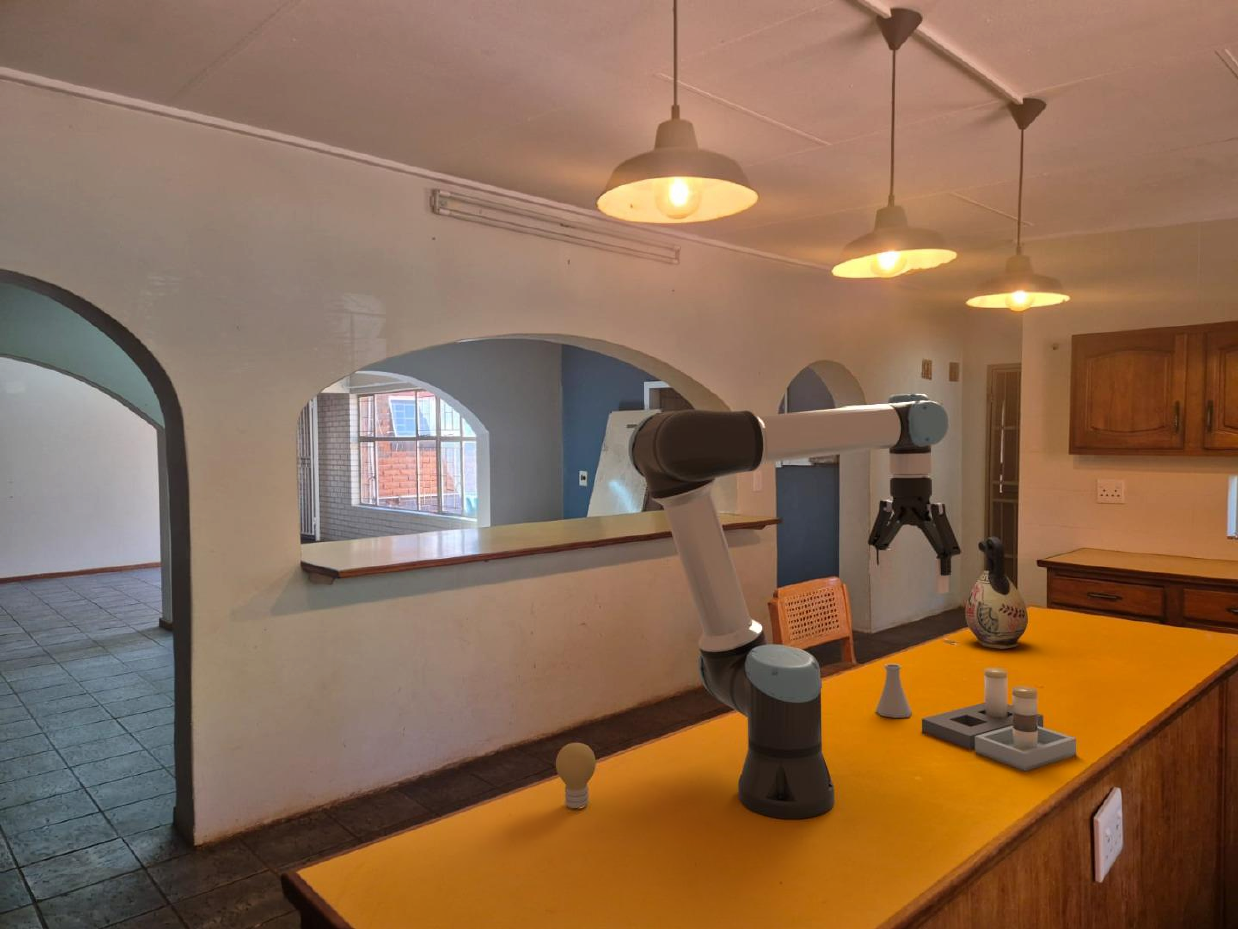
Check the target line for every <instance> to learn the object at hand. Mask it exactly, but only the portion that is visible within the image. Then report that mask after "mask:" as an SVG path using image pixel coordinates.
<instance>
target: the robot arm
mask: <svg viewBox="0 0 1238 929" xmlns="http://www.w3.org/2000/svg"><path fill="white" fill-rule="evenodd" d="M948 430H949V417H948V414H947V411H946V409H945V408H944V407H943V406H942V405H941V404H940V403H939V402H936V401H933V400H930V398H929V396H928V395H926V394H924V393H912V394H894V395H891V396H889V398H888V403H883V404H882V403H881V404H871V405H867V404H866V405H856V404H855V405H845V406H841V407H839V408H831V409H830V408H828V409H819V410H808V411H798V412H797V411H796V412H786V413H785V412H784V413H778V414H777V413H776V414H775V413H774V414H766V415H757V414H756V413H754V412H753V411H751V410H740V411H739V410H737V411H724V410H722V411H721V410H709V409H708V410H707V409H691V408H690V409H683V410H674V411H671V410H669V411H668V410H664V411H662V412H656V413H654V414H652V415H649V416H647V417H645V418H644V419H642V420H641V421H640V422H639V423H637V425H636V426H635V428H634V429H633V431H632V433H631V434H630V437H629V440H628V448H627V449H628V456H629V460H630V463H631V466H633V469H634V470H635V471H636V472H637V473H638V474H639V475H640V476H641V477H642V478H644V481H645V483H646V486H647V490H648V493H649V495H650V498H651V500H652V501H653V502H656V503H657V504H659V505H661V506H662V507H663V510H664V513H665V516H666V519H667V522H668V525H669V528H670V532H671V534H672V535H671V536H672V537H673V541H674V545H675V547H676V551H677V553H678V557H679V559H680V563H681V566H682V569H683V572H684V576H685V578H686V582H687V584H688V588H689V591H690V594H691V597H692V601H693V603H694V608H695V610H696V613H697V617H698V619H699V623H700V627H701V629H702V634H701V636H700V637H699V640H698V642H697V643H698V648H699V651H700V656H699V657H698V661H697V662H698V663H697V665H698V667H697V669H698V674H699V678H700V681H701V682H702V684H703V686H704V688H705V689H706V690H707V691H708V692H709V694H710V695H711V696H713V698H714V699H716V700H718V701H719V702H720V703H722V704H724V705H725V706H728V707H730V708H731V709H733V710H735V711H737V712H738V713H739V714H741V715H742V716H745V718H747V744H748V745H747V752H746V755H745V758H744V762H743V766H742V771H741V774H740V775H739V778H738V780H737V781H738V784H737V793H738V799H739V802H740V803H741V804H742V805H743V806H745V807H746V808H748V810H751V811H753V812H755V813H758V814H760V815H764V816H768V817H772V818H777V819H792V820H793V819H797V820H798V819H808V818H813V817H817V816H820V815H822V814H825V813H827V812H828V811H829V810H831V809H832V808H833V807H834V804H835V787H834V783H833V780H832V778H831V774H830V772H829V768H828V766H827V763H826V760H825V757H824V754H823V747H822V746H823V743H822V742H823V741H822V738H823V737H822V734H823V732H822V730H823V729H822V688H823V683H822V678H821V676H822V675H821V670H820V669H821V668H820V665H819V662H818V660H817V659H816V657H814V656H813V655H812V654H811V653H810V652H808V651H806V650H803V649H801V648H798V647H796V646H795V647H794V646H791V647H790V646H788V645H784V644H776V643H775V644H768V641H767V638H766V634H765V632H764V628H763V626H762V624H761V623H760V622H758V621H756V620H755V619H753V618H751V616H750V612H749V609H748V606H747V604H746V603H747V602H746V600H745V596H744V593H743V590H742V586H741V583H740V580H739V577H738V575H737V574H738V573H737V570H736V567H735V564H734V561H733V558H732V554H731V551H730V548H729V545H728V541H727V539H726V538H727V537H726V535H725V531H724V529H723V525H722V522H721V519H720V516H719V512H718V509H717V506H716V503H715V500H714V495H713V494H712V489H713V487H714V485H715V483H716V481H717V478H720V477H725V476H730V475H736V474H740V473H746V472H747V473H749V472H755V471H757V470H758V469H759V468H760V467H761V466H762V464H768V463H776V462H777V463H778V462H784V461H794V460H802V459H811V458H818V457H827V456H836V455H837V456H838V455H844V454H845V455H846V454H850V453H851V454H852V453H853V454H854V453H861V452H870V451H877V450H887V449H889V452H888V453H889V474H890V475H892V477H890V479H889V494H890V497H892V499H880V501H879V507H878V511H877V512H878V513H877V516H876V517H875V520H874V523H873V526H872V529H871V532H870V535H869V537H868V539H867V544H868V546H872V547H874V549H875V550H876V564H877V566H878V583H879V584H889V583H892V582H893V569H892V568H893V563H892V549H890V548H891V546H890V545H891V544H892V541H894V539H895V537H896V536H897V535H898V534H899V532H900V530H901V529H902V527H903V526H908V525H909V526H913V527H917V528H918V529H919V530H921V531H922V533H923V535H924V537H925V538H926V540H927V541H928V543H929V544H930V545H931V547H932V549H933V551H934V552H935V554H936V555H937V556H935V557H934V559H933V560H934V594H935V595H942V594H946V593H947V594H948V593H950V590H949V588H950V587H949V585H950V584H949V576H951V575H952V558H953V557H955V556H959V555H961V553H962V550H961V548H960V546H959V545H960V544H959V542H958V540H957V538H956V536H955V533H954V530H953V527H952V526H951V524H950V521H949V518H948V516H947V509H946V504H945V503H944V502H935V503H931V501H930V498H931V496H933V479H932V478H931V476H929V475H931V474H932V446H934V445H937V444H939V443H940V442H941V441H943V439H944V438H945V436H946V435H947V433H948ZM892 514H893V515H892Z"/></svg>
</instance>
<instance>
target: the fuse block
mask: <svg viewBox="0 0 1238 929" xmlns="http://www.w3.org/2000/svg"><path fill="white" fill-rule="evenodd" d="M1007 715H1008V717H1005V718H1002V719H997V718H994V717H991V716H988V715H985V702H983V703H981V702H980V703H977V704H973V705H971V706H967V707H962V708H958V709H954V710H950V711H947V712H943V713H939V714H935V715H931V716H927V717H922V718H921V732H923V733H926V734H928V735H931V736H933V737H936V738H939V739H941V740H945V741H946V742H950V743H952V744H954V745H958V746H960V747H963V748H965V749H967V750H972V749H975V736H977V735H981V734H984V733H988V732H992V731H995V730H999V729H1002V728H1006V727H1009V726H1013V708H1012V704H1008V703H1007ZM1037 721H1038V726H1039V727H1043V728H1044V714H1040V713H1038V712H1037Z"/></svg>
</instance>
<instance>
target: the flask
mask: <svg viewBox="0 0 1238 929" xmlns="http://www.w3.org/2000/svg"><path fill="white" fill-rule="evenodd" d="M901 667H902V666H901V665H900V664H897V663H885V665H884V669H885V671H886V674H885V682H884V686H883V689H882V692H881V695H880V698H879V701H878V703H877V707H876V709H875V712H876V713H877V714H879V716H882V717H887V718H895V719H898V718H910V716H912V714H913V712H912V709H911V706H910V704H909V701H908V698H907V696H906V693H905V690H904V688H903V685H902V681H901V676H900V674H901V673H900V670H901V669H902V668H901Z"/></svg>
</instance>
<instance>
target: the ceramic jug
mask: <svg viewBox="0 0 1238 929" xmlns="http://www.w3.org/2000/svg"><path fill="white" fill-rule="evenodd" d="M977 547H978V550H979V551H980V552H982V553H983V554H985V557H986V558H985V559H986V563H985V569H984V570H983V572H982V574H981V575H980V577H978V580H977V581H976V583H975V584H974V586H973V588H972V589H971V590H970V591H971V592H970V594H969V595H968V597H967V598H968V599H967V600H966V606H965V611H964V612H965V613H964V614H965V621H966V623H967V627H968V628H969V630H970V631H971V633H973V635H974V636H975V638H976V639H977V641H978V642H979V644H980V646H983V647H987V648H990V649H991V648H992V649H1000V650H1004V649H1009V648H1010V649H1011V648H1015V647H1018V641H1019V640H1020V638H1021V637H1022V636H1023V635H1024V633H1025V632H1026V630H1027V627H1028V621H1029V616H1028V612H1027V606H1026V603H1025V601H1024V599H1023V597H1022V595H1021V593H1020V592H1019V591H1018V589H1017V588H1016V586H1015V584H1013V582H1012V581H1011V579H1010V578H1009V577H1008V576H1007V574H1005V551H1004V550H1005V548H1004V544H1003V542H1002V540H1001V539H999V538H998V537H996V536H990V537H988V538H986V541H983V540H980V541H979V542H978V545H977Z"/></svg>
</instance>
